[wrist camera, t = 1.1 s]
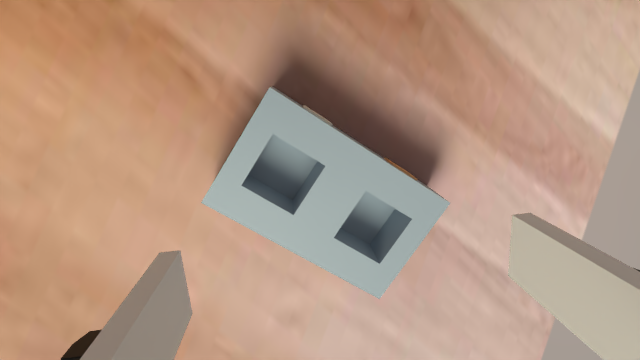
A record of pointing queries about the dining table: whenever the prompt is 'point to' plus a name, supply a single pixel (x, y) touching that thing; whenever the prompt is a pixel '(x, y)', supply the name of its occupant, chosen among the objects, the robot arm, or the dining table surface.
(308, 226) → the socket block
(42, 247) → the dining table surface
